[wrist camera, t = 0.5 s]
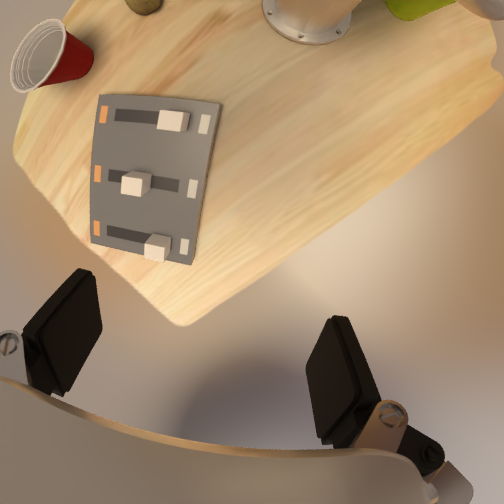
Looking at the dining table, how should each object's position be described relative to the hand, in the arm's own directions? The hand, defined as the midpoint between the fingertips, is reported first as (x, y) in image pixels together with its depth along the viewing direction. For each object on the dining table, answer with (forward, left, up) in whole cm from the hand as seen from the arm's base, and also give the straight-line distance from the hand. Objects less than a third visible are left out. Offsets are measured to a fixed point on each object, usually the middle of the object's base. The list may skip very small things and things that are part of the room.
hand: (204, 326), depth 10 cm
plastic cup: (-15, -30, -31) cm, 45 cm away
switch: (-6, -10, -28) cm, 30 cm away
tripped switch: (+3, -14, -28) cm, 31 cm away
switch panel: (+3, -14, -31) cm, 34 cm away
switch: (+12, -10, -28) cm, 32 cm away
